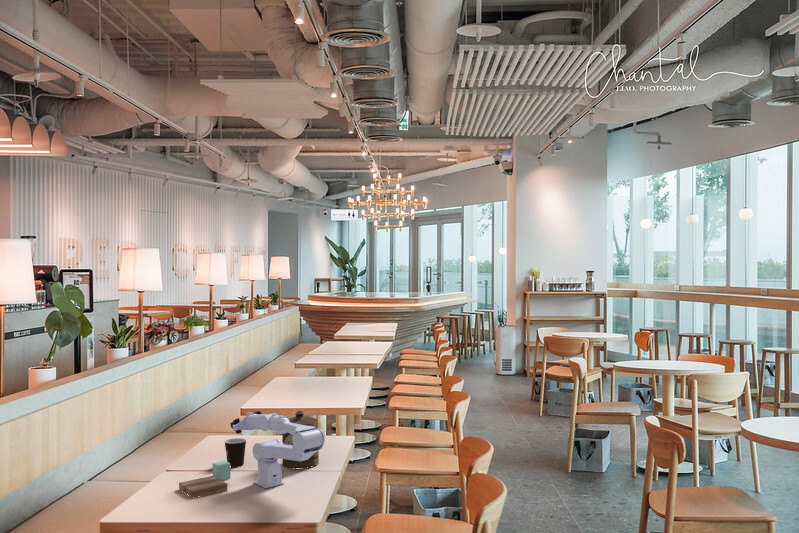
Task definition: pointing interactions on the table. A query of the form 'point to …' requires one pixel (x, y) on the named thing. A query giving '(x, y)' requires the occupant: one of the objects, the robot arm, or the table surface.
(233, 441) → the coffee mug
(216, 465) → the teal block
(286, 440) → the wooden container
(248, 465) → the table surface
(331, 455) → the table surface
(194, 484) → the walnut plinth
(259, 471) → the robot arm
